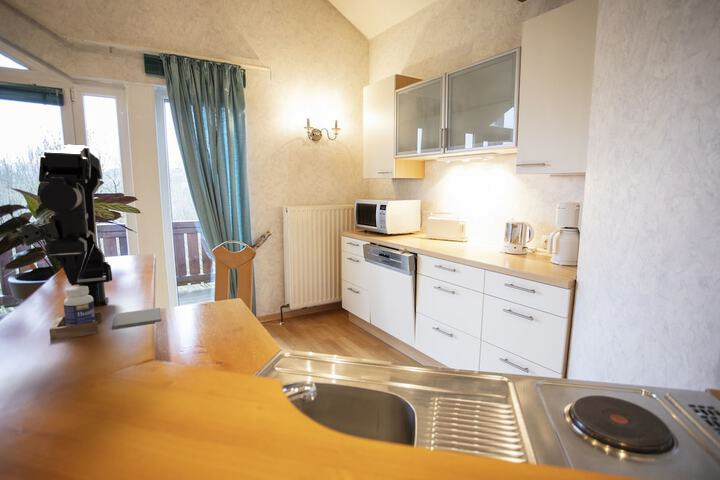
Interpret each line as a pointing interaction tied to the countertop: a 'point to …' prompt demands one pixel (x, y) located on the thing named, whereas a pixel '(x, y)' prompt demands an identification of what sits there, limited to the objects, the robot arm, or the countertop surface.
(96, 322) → the wooden u-shaped frame
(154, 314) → the slate coaster
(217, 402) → the countertop surface
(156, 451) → the countertop surface
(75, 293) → the pill bottle
